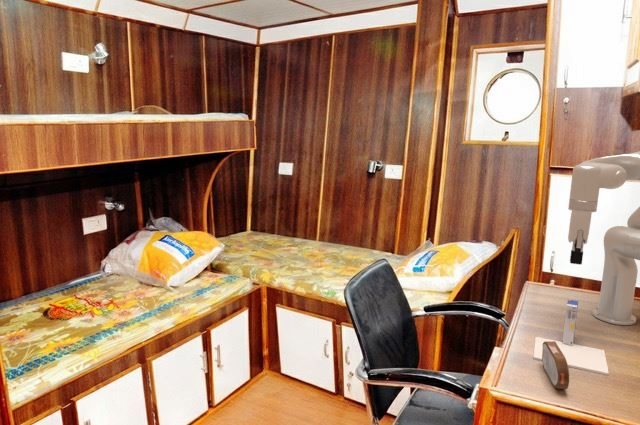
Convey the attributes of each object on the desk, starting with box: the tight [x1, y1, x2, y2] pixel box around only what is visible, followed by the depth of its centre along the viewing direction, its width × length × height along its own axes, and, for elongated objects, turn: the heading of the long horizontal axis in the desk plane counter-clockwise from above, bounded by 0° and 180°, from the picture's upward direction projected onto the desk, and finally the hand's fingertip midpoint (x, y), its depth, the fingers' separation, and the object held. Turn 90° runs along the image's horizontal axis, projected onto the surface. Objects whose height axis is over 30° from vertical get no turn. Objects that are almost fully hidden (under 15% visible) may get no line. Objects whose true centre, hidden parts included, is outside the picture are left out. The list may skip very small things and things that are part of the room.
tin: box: [541, 340, 570, 390], centre depth 117 cm, size 15×3×8 cm, turn 168°
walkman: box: [561, 298, 579, 346], centre depth 137 cm, size 8×3×12 cm, turn 148°
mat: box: [532, 336, 610, 376], centre depth 130 cm, size 14×18×1 cm
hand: (575, 263), depth 143 cm, fingers closed
